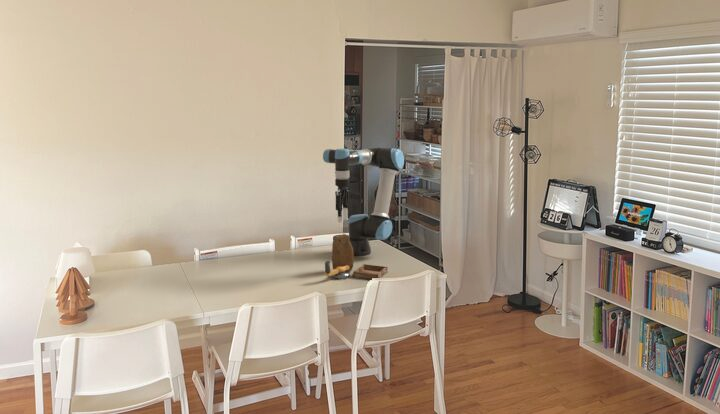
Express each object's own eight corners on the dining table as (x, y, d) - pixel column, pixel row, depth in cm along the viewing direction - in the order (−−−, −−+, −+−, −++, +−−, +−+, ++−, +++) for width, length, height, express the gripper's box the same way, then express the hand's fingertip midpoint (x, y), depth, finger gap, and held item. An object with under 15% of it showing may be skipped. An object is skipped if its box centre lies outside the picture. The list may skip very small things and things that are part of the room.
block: (336, 273, 332) (336, 237, 328) (331, 270, 339) (330, 234, 335) (354, 271, 336) (354, 235, 332) (349, 267, 343) (349, 232, 339)
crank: (344, 267, 333) (344, 254, 331) (351, 269, 330) (351, 255, 328) (322, 275, 320) (322, 261, 318) (329, 277, 317) (329, 262, 315)
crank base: (335, 272, 334) (335, 267, 333) (353, 275, 330) (353, 269, 330) (328, 278, 325) (328, 273, 324) (345, 280, 321) (345, 275, 320)
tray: (364, 269, 340) (364, 264, 339) (387, 272, 335) (387, 266, 334) (353, 277, 326) (353, 271, 326) (377, 280, 321) (377, 274, 321)
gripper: (342, 175, 337) (343, 217, 342) (328, 180, 320) (329, 224, 325) (355, 176, 334) (355, 218, 339) (341, 181, 318) (342, 225, 322)
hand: (342, 220), depth 332 cm, fingers open, 5 cm apart
